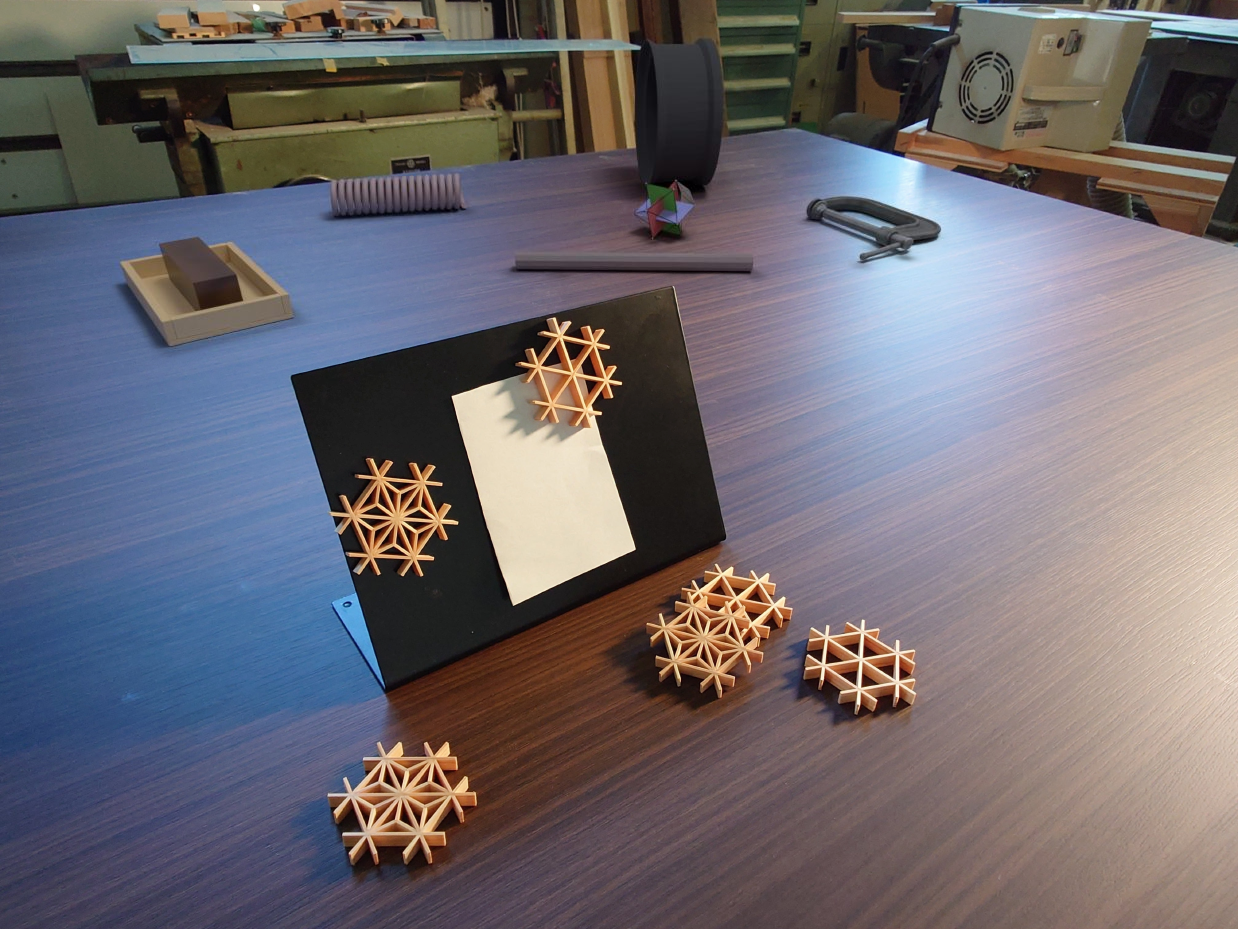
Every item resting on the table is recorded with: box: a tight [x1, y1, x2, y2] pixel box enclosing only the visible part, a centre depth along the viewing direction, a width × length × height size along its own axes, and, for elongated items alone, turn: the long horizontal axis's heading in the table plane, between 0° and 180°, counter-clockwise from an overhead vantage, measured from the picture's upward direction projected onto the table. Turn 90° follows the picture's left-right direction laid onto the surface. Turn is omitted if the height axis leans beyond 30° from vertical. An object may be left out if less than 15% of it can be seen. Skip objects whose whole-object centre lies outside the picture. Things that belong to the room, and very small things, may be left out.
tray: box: [119, 241, 295, 347], centre depth 84 cm, size 12×20×2 cm, turn 37°
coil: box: [329, 172, 468, 217], centre depth 110 cm, size 5×5×18 cm
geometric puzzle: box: [633, 180, 696, 240], centre depth 102 cm, size 7×7×8 cm
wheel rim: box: [634, 37, 724, 187], centre depth 119 cm, size 20×9×20 cm, turn 8°
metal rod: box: [514, 251, 754, 272], centre depth 93 cm, size 2×27×2 cm, turn 90°
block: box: [158, 236, 243, 311], centre depth 83 cm, size 4×14×4 cm, turn 37°
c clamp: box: [805, 195, 942, 261], centre depth 106 cm, size 20×17×3 cm
